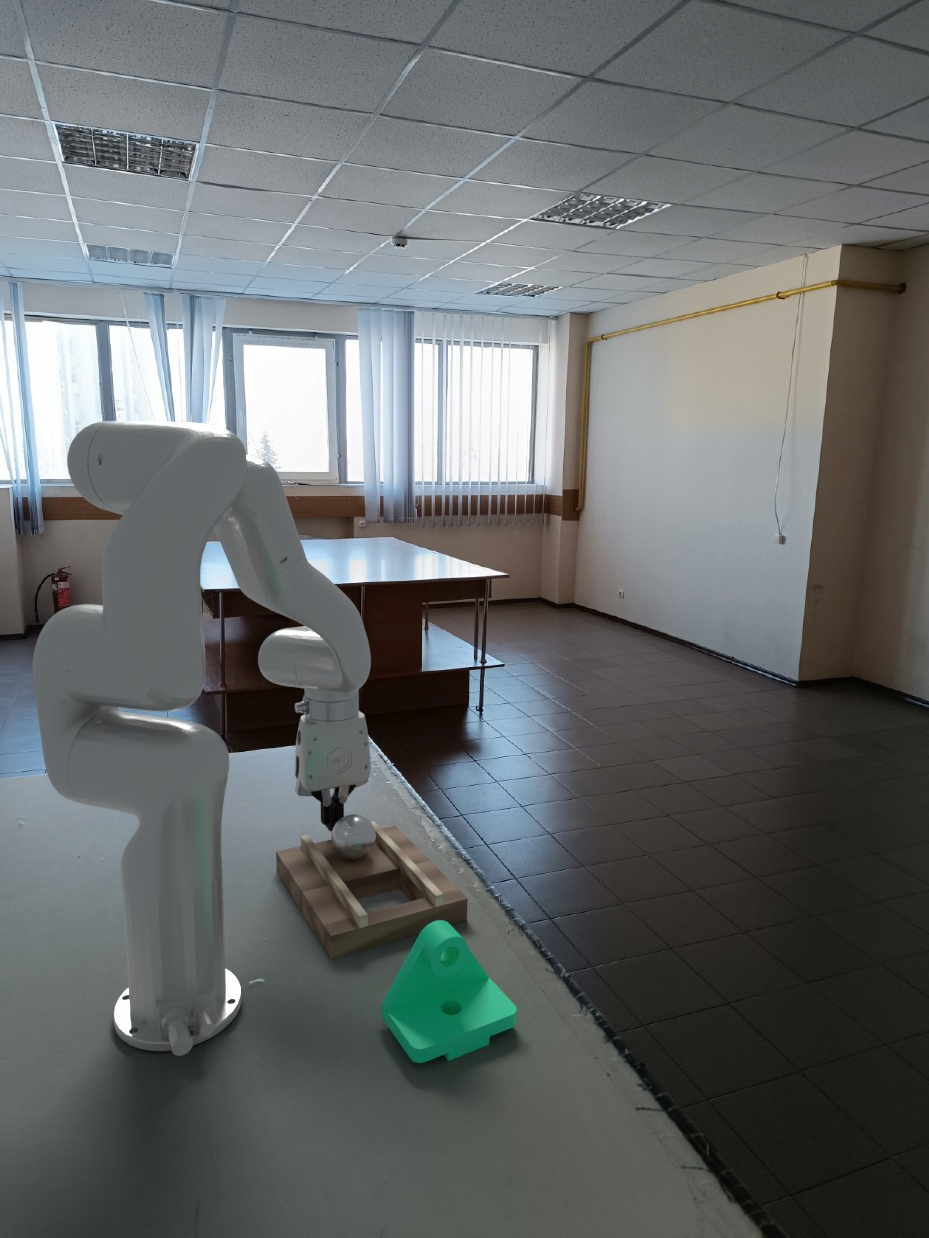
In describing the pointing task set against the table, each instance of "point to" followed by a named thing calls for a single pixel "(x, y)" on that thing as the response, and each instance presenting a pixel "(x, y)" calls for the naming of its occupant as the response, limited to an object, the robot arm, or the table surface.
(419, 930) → the walnut board
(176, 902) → the robot arm
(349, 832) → the steel ball
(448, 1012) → the camera mount
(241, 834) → the table surface
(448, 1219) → the table surface
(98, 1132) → the table surface
